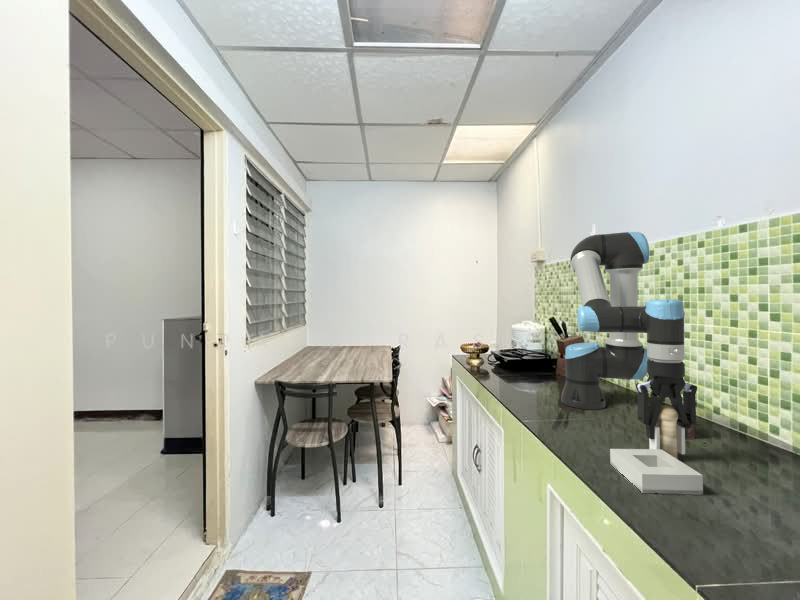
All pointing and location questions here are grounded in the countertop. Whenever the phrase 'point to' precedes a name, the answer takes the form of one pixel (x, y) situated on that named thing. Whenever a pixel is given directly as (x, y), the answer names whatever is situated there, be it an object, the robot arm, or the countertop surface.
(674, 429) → the pestle
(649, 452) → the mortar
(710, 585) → the countertop surface
